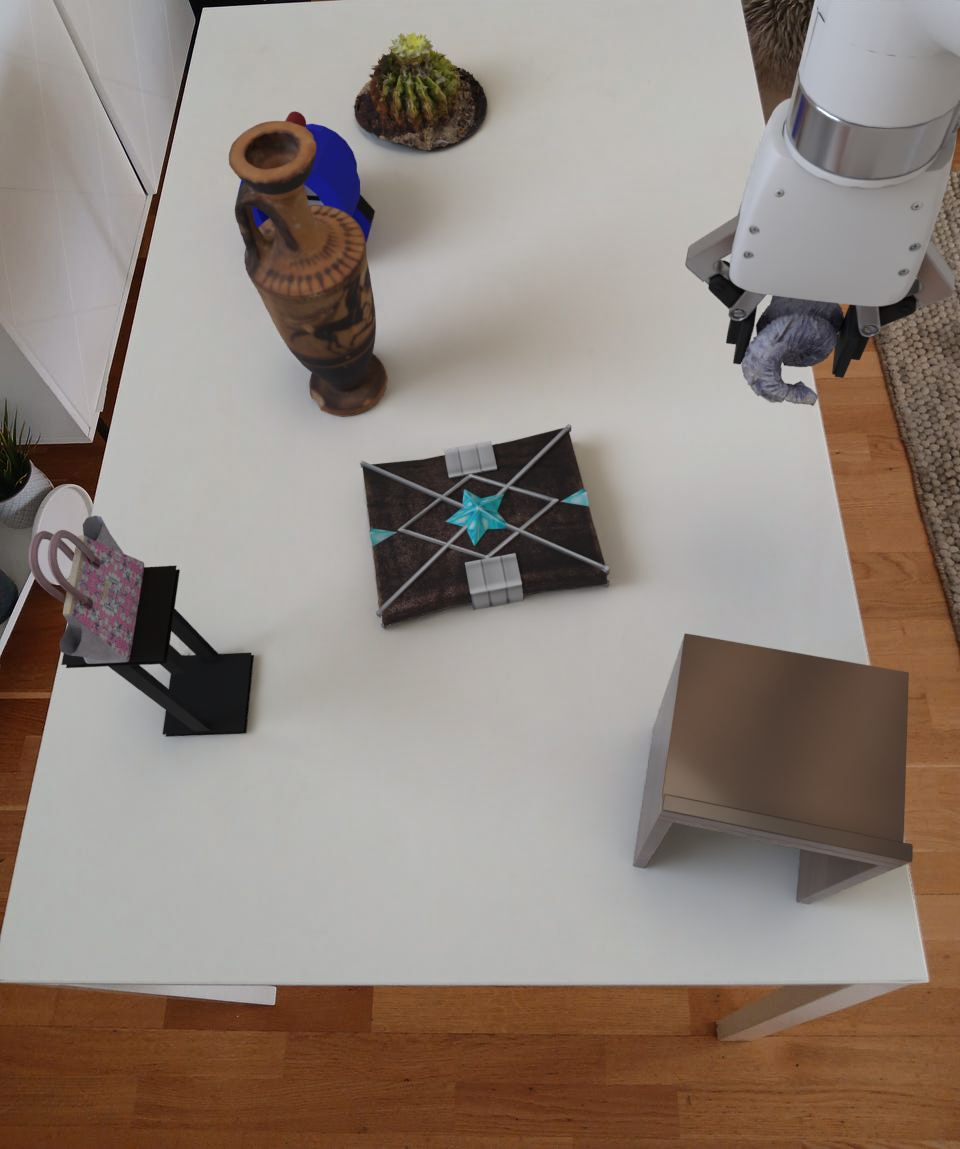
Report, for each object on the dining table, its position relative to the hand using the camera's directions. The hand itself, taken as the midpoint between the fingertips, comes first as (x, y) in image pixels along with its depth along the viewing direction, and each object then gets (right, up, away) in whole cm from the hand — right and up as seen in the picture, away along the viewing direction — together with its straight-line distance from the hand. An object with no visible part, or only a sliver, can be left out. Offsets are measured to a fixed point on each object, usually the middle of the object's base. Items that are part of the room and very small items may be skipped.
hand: (789, 352), depth 60 cm
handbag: (-45, -26, +24) cm, 57 cm away
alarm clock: (-40, +26, +48) cm, 68 cm away
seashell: (0, 0, +1) cm, 1 cm away
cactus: (-28, +44, +56) cm, 77 cm away
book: (-20, -11, +29) cm, 37 cm away
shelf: (0, -34, +16) cm, 38 cm away
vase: (-34, +6, +38) cm, 52 cm away
